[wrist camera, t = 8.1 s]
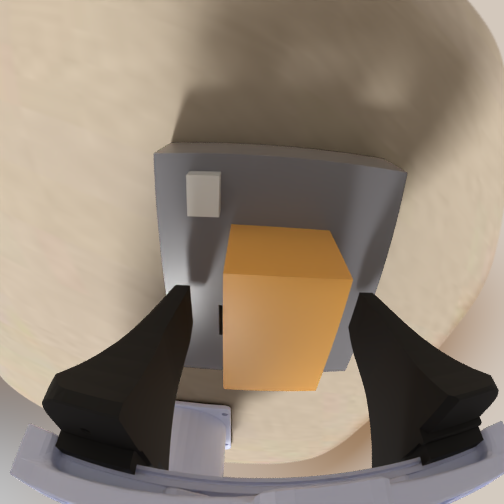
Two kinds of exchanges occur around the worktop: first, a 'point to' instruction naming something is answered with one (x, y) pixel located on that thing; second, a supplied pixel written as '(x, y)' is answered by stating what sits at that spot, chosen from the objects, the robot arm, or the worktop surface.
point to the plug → (280, 306)
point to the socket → (268, 221)
